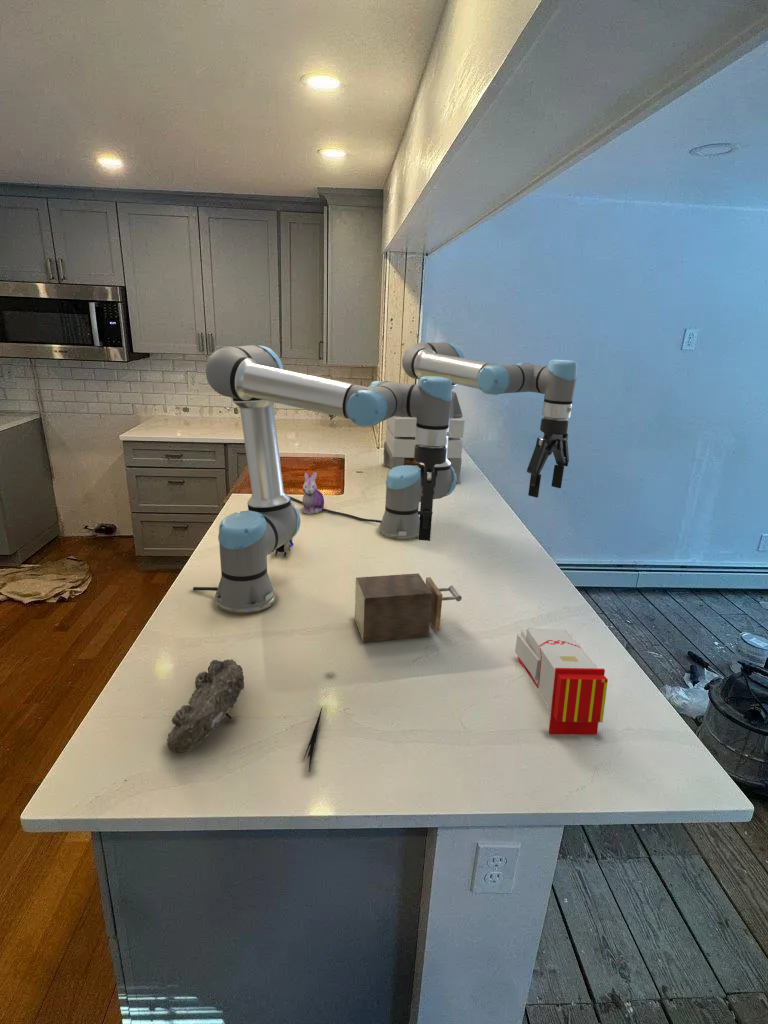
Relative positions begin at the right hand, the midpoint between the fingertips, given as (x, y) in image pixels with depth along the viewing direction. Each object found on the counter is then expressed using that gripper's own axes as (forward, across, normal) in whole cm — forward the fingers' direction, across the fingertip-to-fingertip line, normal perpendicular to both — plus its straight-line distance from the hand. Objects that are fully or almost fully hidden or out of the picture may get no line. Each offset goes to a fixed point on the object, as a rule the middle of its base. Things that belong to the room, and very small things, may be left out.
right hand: (544, 491), depth 163 cm
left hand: (+3, -44, +9) cm, 45 cm away
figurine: (+27, -13, +87) cm, 92 cm away
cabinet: (+27, -54, +9) cm, 61 cm away
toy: (+27, -47, -31) cm, 62 cm away
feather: (+27, -88, -4) cm, 92 cm away
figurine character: (+27, -45, +65) cm, 83 cm away
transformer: (+27, +60, +95) cm, 116 cm away
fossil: (+27, -102, +11) cm, 106 cm away
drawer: (+26, -48, +6) cm, 55 cm away
